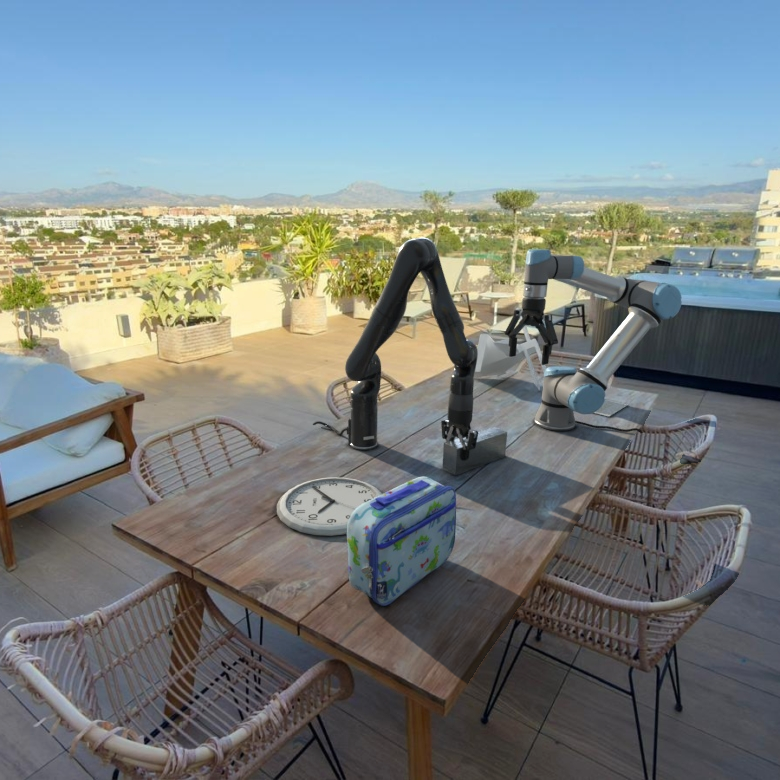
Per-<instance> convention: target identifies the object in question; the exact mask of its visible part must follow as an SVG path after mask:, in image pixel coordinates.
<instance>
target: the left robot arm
mask: <svg viewBox="0 0 780 780" xmlns="http://www.w3.org/2000/svg"><path fill="white" fill-rule="evenodd" d="M419 274H421V276H422V278H423V279H424V282H425V284H426V286H427V290H428V295H429V301H430V302H429V303H430V307H431V312H432V316H433V318H434V320H435V322H436V325H437V327H438V329H439V331H440V333H441V335H442V339H443V343H444V346H445V350H446V353H447V356H448V358H449V360H450V361H451V363H452V364H453V371H452V374H451V376H450V381H449V394H448V399H447V418H446V419H442V420H441V422H440V425H441V427H440V428H441V438H442V439H443V440H445V442H448V441H451V440H455V439H458V438H459V441H460V443H461V444H462V448H463V450H462V460H463V461H465V460H468V459H469V450H471V449H474V448H475V447H476V442H477V437H478V432H479V431H478V430H475V431H474V430H473V429H472V427H471V423H472V422H473V413H474V412H473V411H474V386H475V377H474V373H475V369H476V363H477V357H478V350H477V347H478V346H477V345H476V343H475V342H474V341H472V340H471V339H467V337H466V334H465V331H464V330H465V325H464V321H463V320H462V317H461V315H460V313H459V311H458V308H457V306H456V304H455V301H454V300H453V297H452V294H451V291H450V288H449V286H448V282H447V280H446V276H445V273H444V270H443V266H442V263H441V258H440V255H439V252H438V248H437V246H436V244H435V243H434V241H432V239H429V238H428V237H418V238H412V239H409V240H406V241H405V242H404V243H403V244H402V245H401V246H400V247H399V249H398V252H397V255H396V257H395V261H394V263H393V266H392V269H391V272H390V275H389V277H388V279H387V281H386V284H385V285H384V286H383V288H382V291H381V293H380V295H379V297H378V299H377V301H376V303H375V304H374V307H373V309H372V312H371V314H370V316H369V318H368V321H367V323H366V325H365V327H364V328H363V331H362V333H361V335H360V337H359V338H358V340H357V343H356V344H355V345H354V347H353V349H352V350H351V352H350V353H349V355H348V357H347V358H346V361H345V364H344V365H345V366H344V369H345V375H346V376H347V379H349V380H350V381H353V382H356V384H355V385H354V386H353V387H352V388H351V390H350V397H349V398H350V418H348V420H347V424H348V425H347V427H344V428H343V429H341V431H339V430H338V429H336V428H335V427H334V426H332V425H330V424H328V425H327V423H326V422H323V421H320V420H317V421H314V422H313V423H312V426H316V425H318V424H319V425H322V426H324V427H326V428H328V429H331V430H332V431H333V432H335V434H337V435H339V436H341V435H343V434H344V433H345V432H346V435H348V436H347V437H348V438H347V439H348V441H347V444H348V446H350V447H351V448H353V449H355V450H358V451H370V450H373V449H376V448H377V447H378V415H379V414H378V409H379V407H378V404H379V403H378V400H379V399H378V397H379V392H380V390H381V380H382V362H381V358H380V356H379V355H378V354H377V351H378V350H379V349H380V348H381V347H382V346H383V345H384V344H385V343H386V342H387V341H388V340H389V339H390V338H391V337H392V336H393V335H394V334H395V332H396V331H397V330H398V328H399V326H400V324H401V322H402V320H403V318H404V316H405V313H406V310H407V307H408V306H407V305H408V296H409V293H410V290H411V287H412V286H413V284H414V282H415V280H416V279H417V277H418V276H419ZM325 425H327V426H325ZM465 437H466V439H463V438H465ZM465 442H466V444H467V445H466V444H465Z"/></svg>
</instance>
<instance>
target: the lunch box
mask: <svg viewBox="0 0 780 780" xmlns="http://www.w3.org/2000/svg"><path fill="white" fill-rule="evenodd" d="M456 524H457V494H456V490H455V488H454V487H453V486H451V485H444V484H441V483H440V482H438V481H436V480H434V479H432V478H431V477H428V476H422V475H421V476H419V477H416V478H413V479H411V480H408V481H407V482H404V483H402V484H400V485H398V486H396V487H394V488H392V489H390V490H388V491H386V492H383V494H381V495H380V496H378V497H376V498H374V499H372V500H370V501H368V502H365V503H363V504H362V505H360V506H358V507H357V508H356V509H355V510H354V511H353V513H352V514H351V516H350V518H349V521H348V525H347V534H346V545H347V546H346V548H347V570H348V572H347V573H348V581H349V583H350V585H351V587H353V588H354V589H356V590H358V591H361V592H362V593H364V594H365V595H366V596H368V597H369V598H371V599H372V601H373V602H374V603H375V604H378V605H379V606H383V607H386V606H388V605H390V604H392V603H394V601H396V600H397V599H398V598H399V597H400V596H402V595H403V594H404V593H406V592H407V591H408V590H410V589H411V588H413V587H414V586H415V585H417V584H418V583H419V582H421V580H422V579H424V577H426V576H427V575H430V573H432V572H434V571H435V570H436V569H438V568H440V567H441V566H442V565H444V563H446V562H447V561H448V559H449V558H450V556H451V554H452V552H453V549H454V546H455V542H456V529H457V525H456Z"/></svg>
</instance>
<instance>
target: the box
mask: <svg viewBox="0 0 780 780" xmlns="http://www.w3.org/2000/svg"><path fill="white" fill-rule="evenodd" d="M477 432H478V437H477V442H476V447H475V448H474V449H471V450H469V459H468V460H465V461H463V460H462V450H463V448H462V444H461V443H460V441H459V438H455V439H454V440H451V441H448V442H446V441H445V442H443V451H442V452H443V453H442V468H441V469H442V470H444V471H446V472H448V473H450V474H452V475H453V476H458V475H461V474H463V473H466V472H468V471H471V470H474V469H476V468H479V467H482V466H484V465H487V464H489V463H493V462H495V461H497V460H500V459H502V458H505V457H506V452H507V451H506V450H507V442H508V441H507V440H508V431H505V430H503V429H501V428H498V427H495V426H492V427H489V428H486V429H482V430H479V431H477ZM463 439H466V437H465V438H463ZM465 444H466V442H465ZM466 445H467V444H466Z"/></svg>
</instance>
